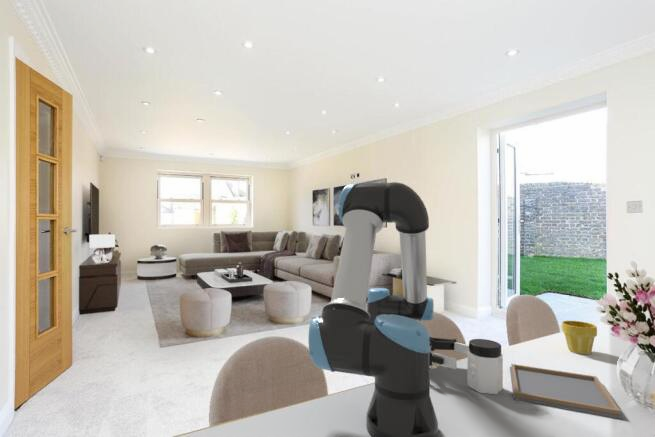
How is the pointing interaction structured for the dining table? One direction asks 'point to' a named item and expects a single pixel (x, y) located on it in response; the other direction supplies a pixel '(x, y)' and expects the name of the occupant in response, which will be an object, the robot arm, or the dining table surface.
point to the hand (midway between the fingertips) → (466, 357)
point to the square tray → (562, 390)
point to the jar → (485, 366)
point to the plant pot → (579, 336)
